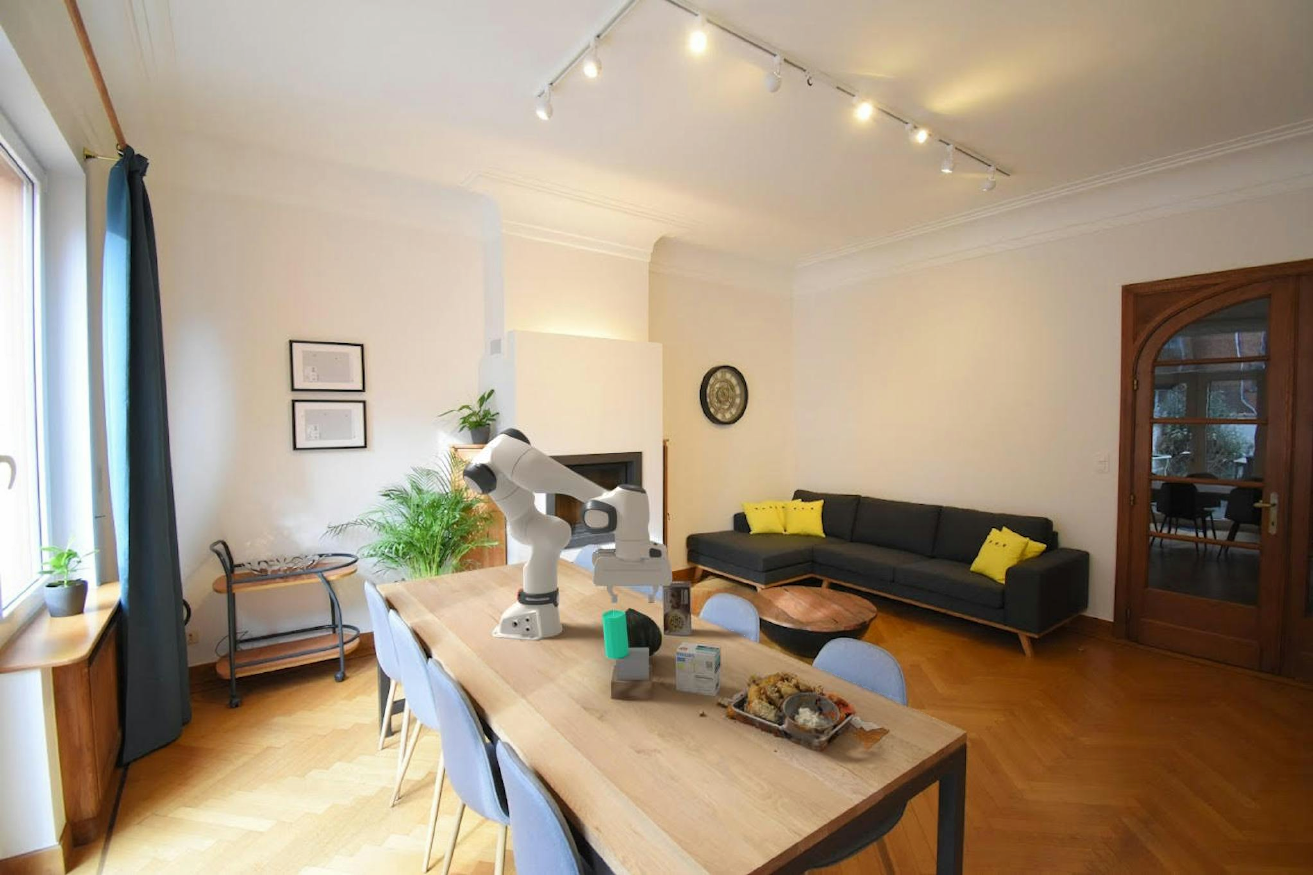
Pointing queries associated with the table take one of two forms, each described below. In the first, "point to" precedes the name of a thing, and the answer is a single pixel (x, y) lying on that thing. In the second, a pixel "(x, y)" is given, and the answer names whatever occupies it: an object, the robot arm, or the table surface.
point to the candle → (615, 634)
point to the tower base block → (631, 687)
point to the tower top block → (634, 665)
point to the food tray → (797, 711)
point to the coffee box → (677, 608)
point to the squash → (642, 631)
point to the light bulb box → (698, 668)
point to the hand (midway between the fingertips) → (632, 602)
